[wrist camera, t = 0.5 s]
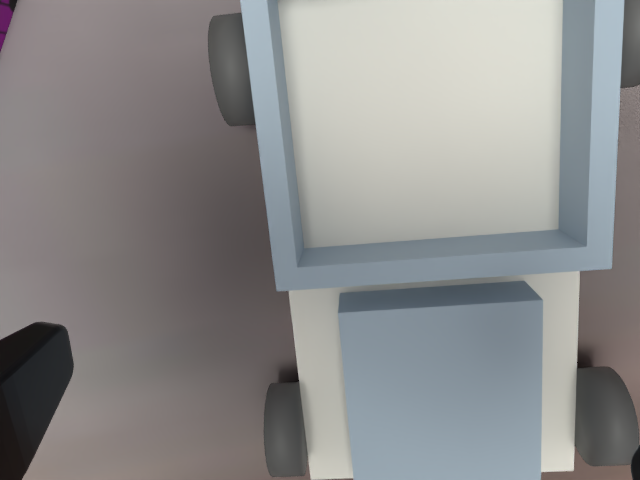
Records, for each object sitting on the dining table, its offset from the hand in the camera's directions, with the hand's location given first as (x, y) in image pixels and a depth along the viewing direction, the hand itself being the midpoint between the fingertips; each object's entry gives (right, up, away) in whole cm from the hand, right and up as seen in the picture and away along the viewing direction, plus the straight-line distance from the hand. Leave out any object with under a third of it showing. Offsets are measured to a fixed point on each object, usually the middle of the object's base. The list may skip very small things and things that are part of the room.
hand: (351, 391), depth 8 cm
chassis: (+4, +2, +13) cm, 13 cm away
